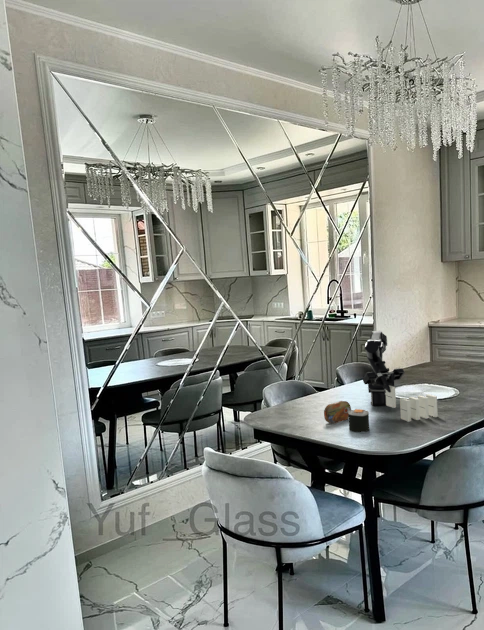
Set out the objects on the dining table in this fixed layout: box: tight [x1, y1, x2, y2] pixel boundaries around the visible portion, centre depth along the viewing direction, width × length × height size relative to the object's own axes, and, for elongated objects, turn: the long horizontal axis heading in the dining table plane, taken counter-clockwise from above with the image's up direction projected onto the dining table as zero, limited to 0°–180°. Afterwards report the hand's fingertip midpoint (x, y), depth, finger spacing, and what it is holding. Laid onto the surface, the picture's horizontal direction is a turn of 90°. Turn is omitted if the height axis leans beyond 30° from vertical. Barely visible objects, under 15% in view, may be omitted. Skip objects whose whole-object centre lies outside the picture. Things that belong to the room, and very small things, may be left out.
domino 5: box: [425, 393, 438, 418], centre depth 212 cm, size 2×5×9 cm, turn 18°
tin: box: [323, 400, 352, 425], centre depth 213 cm, size 15×3×8 cm, turn 126°
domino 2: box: [399, 397, 412, 423], centre depth 208 cm, size 2×5×9 cm, turn 17°
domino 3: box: [408, 396, 421, 421], centre depth 209 cm, size 2×5×9 cm, turn 17°
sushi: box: [348, 408, 370, 433], centre depth 199 cm, size 8×8×8 cm
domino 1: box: [385, 385, 397, 409], centre depth 213 cm, size 2×5×9 cm, turn 17°
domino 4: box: [417, 395, 430, 420], centre depth 211 cm, size 2×5×9 cm, turn 17°
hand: (392, 391), depth 212 cm, fingers closed on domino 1, 2 cm apart
